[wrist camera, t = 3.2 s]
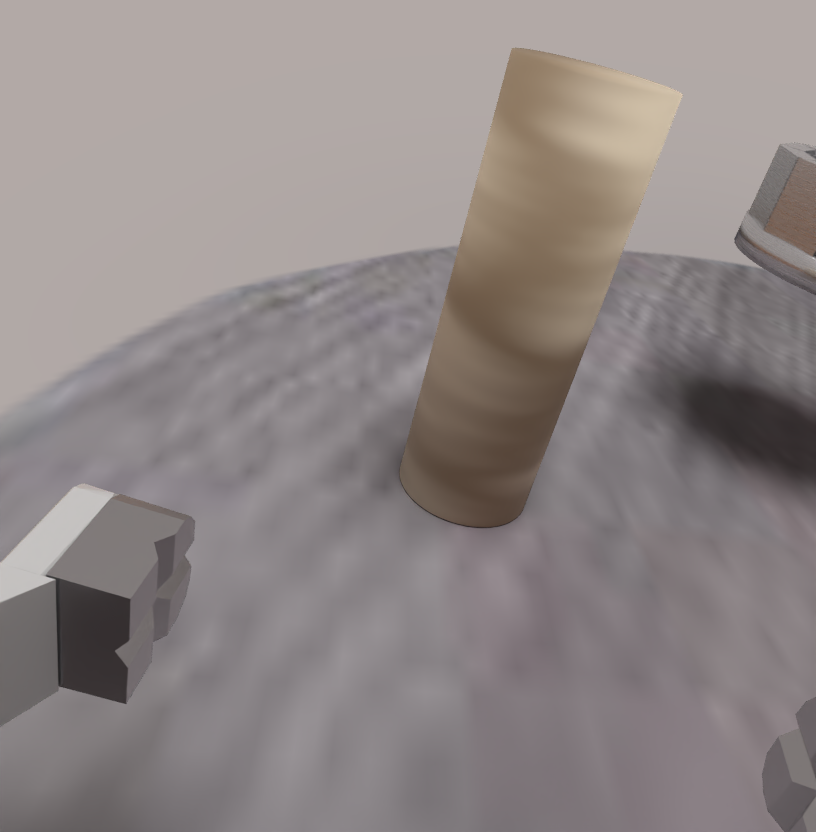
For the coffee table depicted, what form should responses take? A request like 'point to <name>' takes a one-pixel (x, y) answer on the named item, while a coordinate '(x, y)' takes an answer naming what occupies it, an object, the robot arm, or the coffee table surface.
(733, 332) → the coffee table surface
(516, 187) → the rail post
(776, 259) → the cup bracket
